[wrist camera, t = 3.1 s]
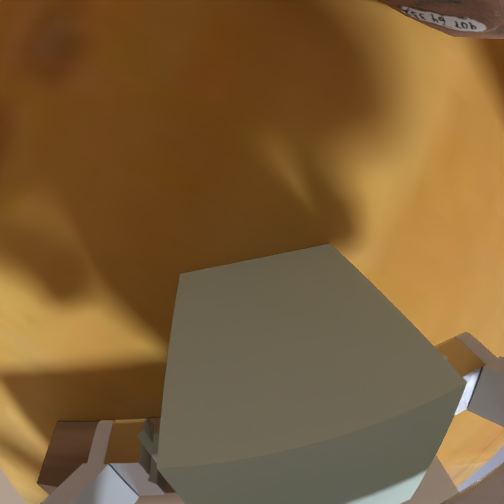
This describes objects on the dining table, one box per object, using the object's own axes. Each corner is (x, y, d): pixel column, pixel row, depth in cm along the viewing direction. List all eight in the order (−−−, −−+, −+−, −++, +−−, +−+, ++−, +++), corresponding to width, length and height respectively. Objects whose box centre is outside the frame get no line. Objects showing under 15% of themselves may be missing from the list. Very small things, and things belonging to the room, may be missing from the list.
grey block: (352, 467, 16) (383, 539, 11) (420, 431, 16) (461, 496, 11) (363, 488, 18) (389, 547, 13) (421, 458, 18) (453, 513, 13)
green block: (179, 273, 10) (156, 468, 4) (329, 243, 11) (467, 382, 4) (214, 384, 12) (229, 548, 6) (334, 357, 12) (410, 498, 6)
